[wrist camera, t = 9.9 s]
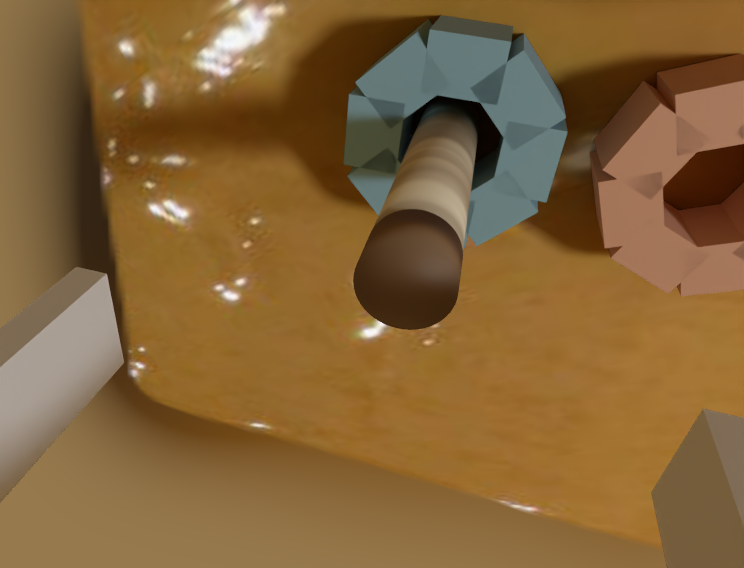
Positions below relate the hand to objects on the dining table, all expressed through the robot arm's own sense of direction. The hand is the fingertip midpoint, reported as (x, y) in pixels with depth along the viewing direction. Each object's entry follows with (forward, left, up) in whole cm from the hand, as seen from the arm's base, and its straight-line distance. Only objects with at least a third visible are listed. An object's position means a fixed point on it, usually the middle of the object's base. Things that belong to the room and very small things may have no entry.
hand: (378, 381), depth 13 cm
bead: (0, 0, -20) cm, 20 cm away
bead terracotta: (0, +12, -20) cm, 23 cm away
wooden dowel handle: (0, 0, -20) cm, 20 cm away
